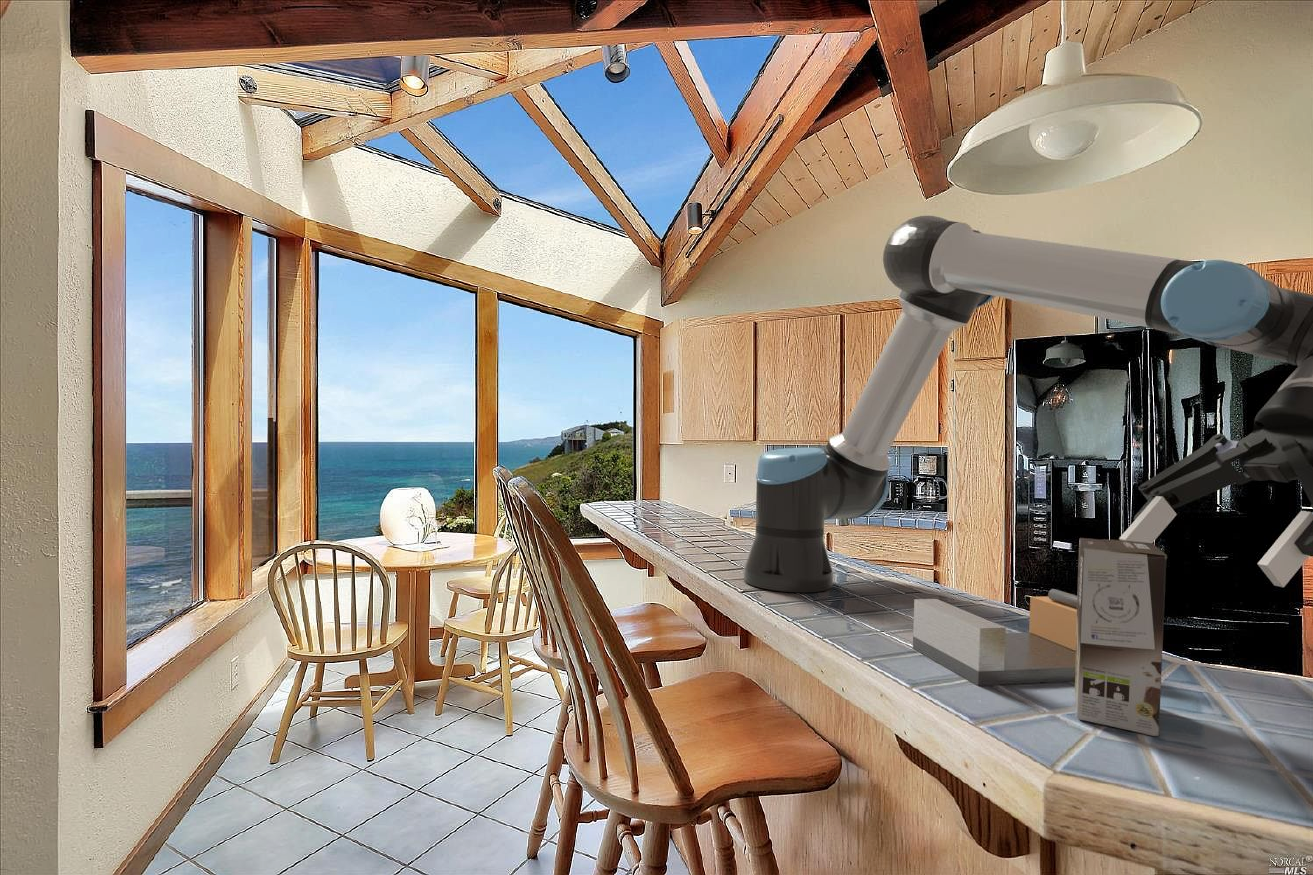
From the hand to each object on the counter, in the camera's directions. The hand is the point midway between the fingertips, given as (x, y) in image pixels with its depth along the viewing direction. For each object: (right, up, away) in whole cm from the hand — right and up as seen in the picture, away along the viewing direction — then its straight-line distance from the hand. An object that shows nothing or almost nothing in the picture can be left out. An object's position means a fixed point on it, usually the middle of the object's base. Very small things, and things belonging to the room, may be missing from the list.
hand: (1192, 560), depth 64 cm
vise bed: (-9, -14, +13) cm, 21 cm away
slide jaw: (-2, -13, +14) cm, 19 cm away
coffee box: (-8, -15, 0) cm, 17 cm away
